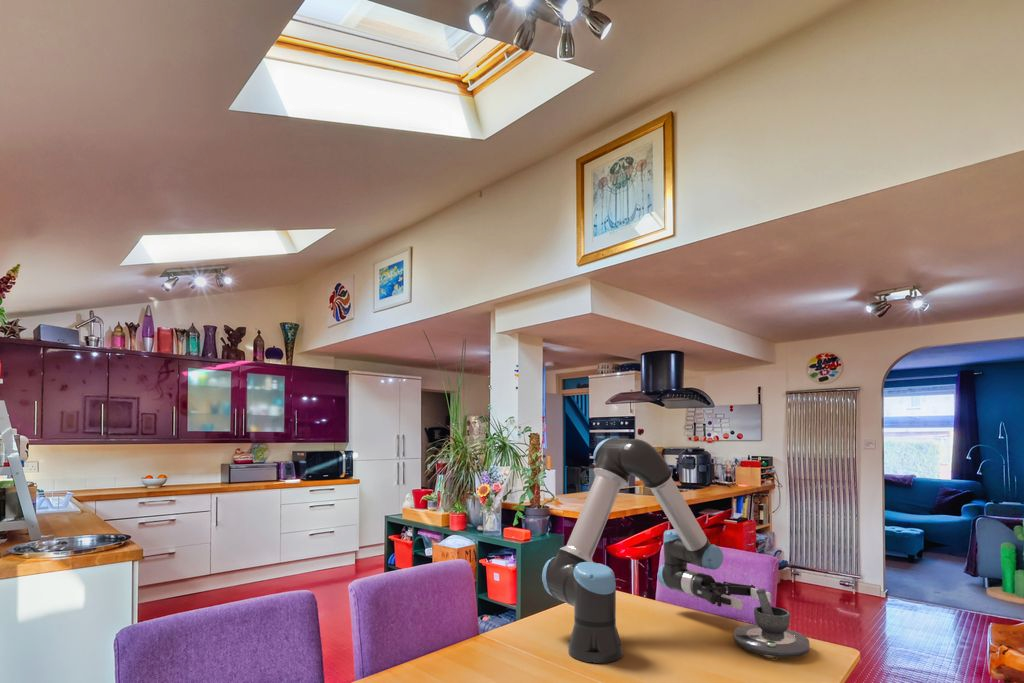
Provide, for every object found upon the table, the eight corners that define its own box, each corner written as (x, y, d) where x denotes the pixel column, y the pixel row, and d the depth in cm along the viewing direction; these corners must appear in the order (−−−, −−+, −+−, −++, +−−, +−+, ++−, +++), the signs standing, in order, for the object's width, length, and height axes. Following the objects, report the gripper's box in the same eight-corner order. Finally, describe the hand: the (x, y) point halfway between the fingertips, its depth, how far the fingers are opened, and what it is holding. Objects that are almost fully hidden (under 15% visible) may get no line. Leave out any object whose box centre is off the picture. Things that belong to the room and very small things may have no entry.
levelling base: (783, 668, 160) (782, 650, 160) (719, 645, 176) (719, 628, 177) (824, 653, 170) (823, 636, 171) (761, 632, 187) (760, 617, 188)
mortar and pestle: (798, 641, 169) (796, 596, 171) (768, 643, 168) (766, 598, 169) (774, 627, 180) (772, 586, 182) (745, 629, 179) (743, 587, 180)
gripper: (724, 591, 202) (782, 607, 185) (672, 602, 189) (729, 621, 171) (723, 567, 203) (780, 582, 186) (672, 577, 190) (728, 594, 172)
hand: (756, 601), depth 178 cm, fingers open, 13 cm apart
